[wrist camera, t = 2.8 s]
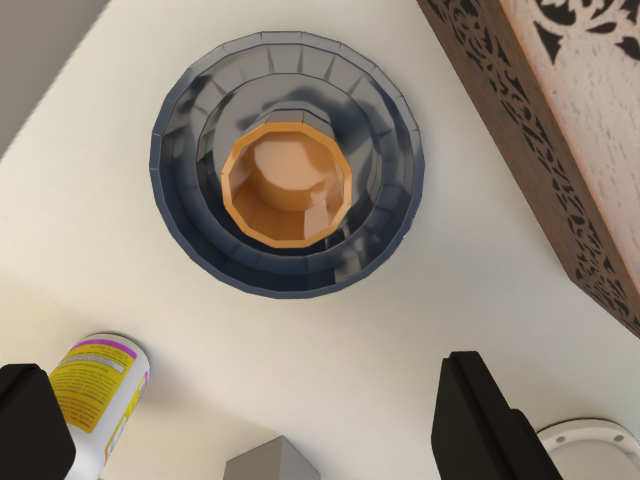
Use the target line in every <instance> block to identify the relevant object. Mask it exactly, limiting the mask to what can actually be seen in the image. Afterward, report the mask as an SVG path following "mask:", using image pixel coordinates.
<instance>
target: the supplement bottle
mask: <svg viewBox="0 0 640 480" xmlns="http://www.w3.org/2000/svg"><path fill="white" fill-rule="evenodd" d="M149 374H150V366H149V362H148V359H147V357H146V355H145V354H144V352H143V351H142V350H141V349H140V348H139V347H138V346H137V345H136V344H134V343H133V342H131V341H130V340H128V339H126V338H123V337H121V336H117V335H112V334H96V335H91V336H88V337H86V338H84V339H82V340H80V341H79V342H78V343H77V344H75V345H74V347H73V348H72V349H71V350H70V351H69V352H68V354H67V355H66V356H65V357H64V359H63V360H62V361H61V362H60V363H59V365H58V366H57V367H56V368H55V370H54V371H53V372H52V373H51V375H50V376H49V377H48V378H49V381H50V383H51V386H52V388H53V391H54V393H55V396H56V398H57V401H58V403H59V406H60V409H61V411H62V414H63V416H64V419H65V421H66V424H67V426H68V429H69V431H70V434H71V436H72V439H73V442H74V444H75V447H76V457H75V461H74V463H73V465H72V467H71V469H70V471H69V472H68V474H67V476H66V478H65V479H64V480H97V479H98V477H99V476H100V474H101V472H102V470H103V468H104V466H105V464H106V462H107V460H108V458H109V456H110V454H111V452H112V450H113V448H114V446H115V444H116V442H117V440H118V438H119V436H120V434H121V432H122V430H123V428H124V426H125V424H126V423H127V421H128V419H129V417H130V415H131V413H132V411H133V409H134V407H135V405H136V403H137V401H138V399H139V397H140V395H141V393H142V391H143V389H144V387H145V385H146V383H147V381H148V378H149Z"/></svg>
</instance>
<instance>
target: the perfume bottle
mask: <svg viewBox="0 0 640 480" xmlns="http://www.w3.org/2000/svg"><path fill="white" fill-rule="evenodd" d="M223 480H320V474H319V473H318V472H317V471H316V470H315V469H314V468H313V467H312V465H311V464H310V463H309V462H308V461H307V460H306V459H305V458H304V457H303V456H302V455H301V454H300V453H299V452H298V451H297V450H296V449H295V448H294V447H293V446H292V445H291V444H290V442H289V441H288V440H287V439H286V438H285V437H284V436H281V437H279V438H276V439H274V440H272V441H270V442H268V443H266V444H264V445H262V446H260V447H257V448H255V449H253V450H251V451H249V452H247V453H245V454H243V455H240V456H238V457H236V458H234V459H232V460H230V461H228V462H227V463H226V468H225V473H224V477H223Z"/></svg>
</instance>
